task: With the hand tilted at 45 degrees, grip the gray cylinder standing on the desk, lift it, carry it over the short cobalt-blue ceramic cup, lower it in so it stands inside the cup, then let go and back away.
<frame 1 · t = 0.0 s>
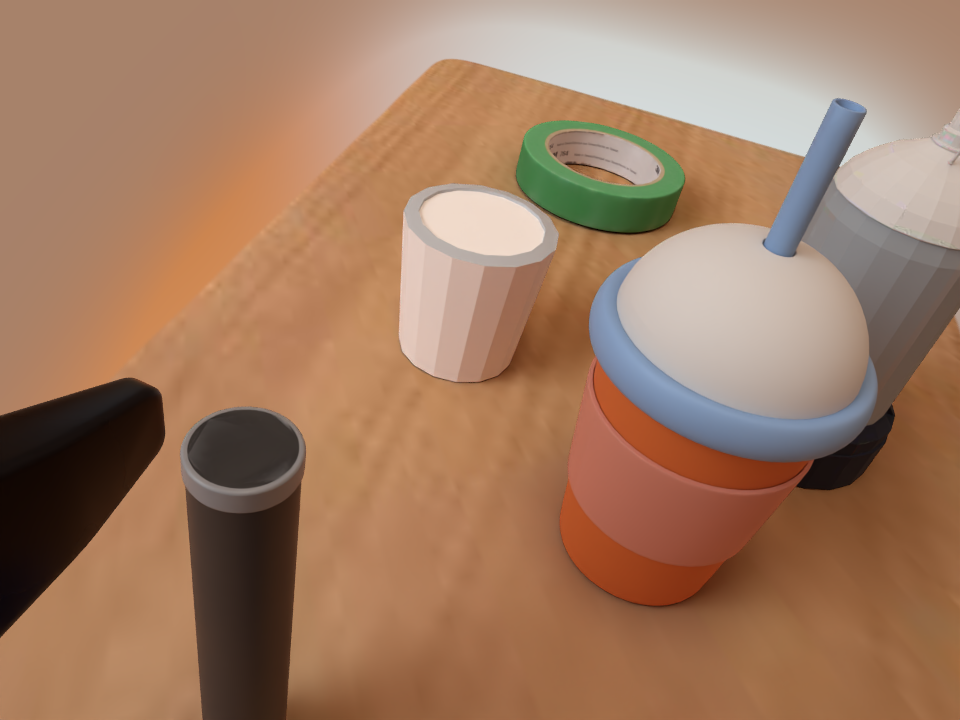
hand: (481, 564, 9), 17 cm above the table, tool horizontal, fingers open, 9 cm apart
tape roll: (593, 193, 55), on the table
cup with straw: (632, 543, 32), on the table
humidifier: (782, 427, 39), on the table
white tapered cup: (455, 347, 39), on the table
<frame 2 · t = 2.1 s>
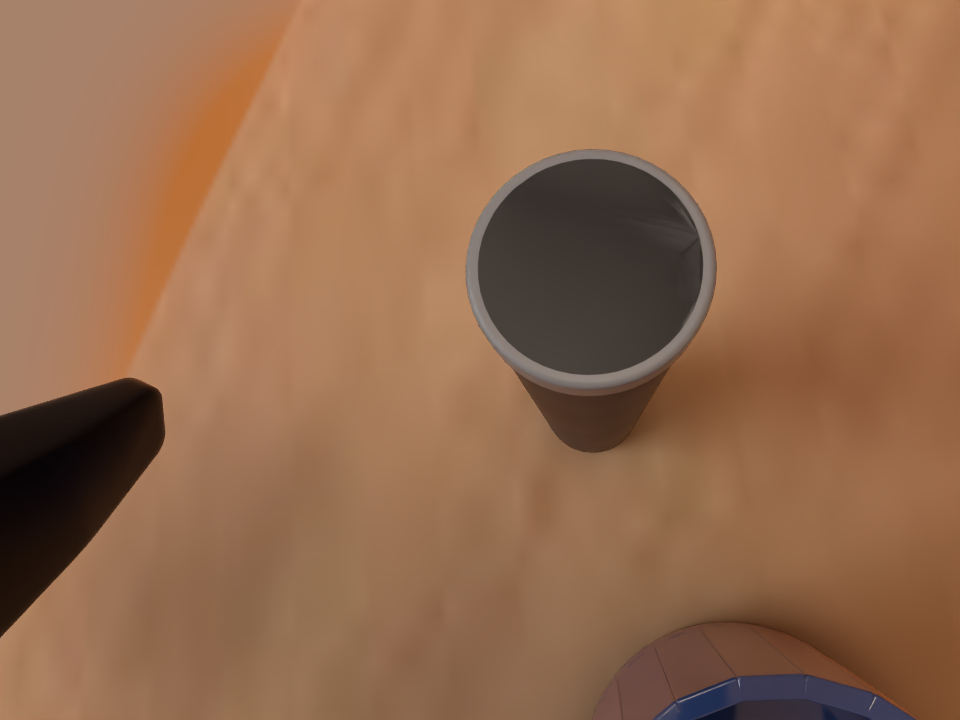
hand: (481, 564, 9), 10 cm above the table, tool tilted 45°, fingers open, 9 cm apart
gray cylinder: (591, 407, 19), on the table
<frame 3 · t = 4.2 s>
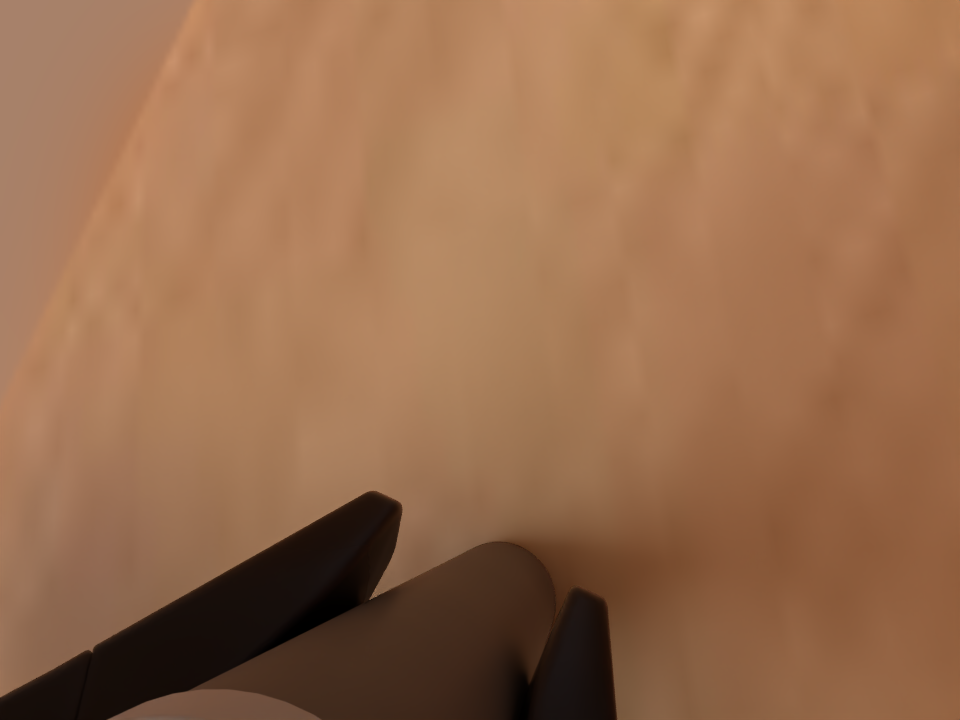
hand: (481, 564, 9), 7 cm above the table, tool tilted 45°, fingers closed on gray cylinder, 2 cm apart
gray cylinder: (499, 599, 16), on the table, touching gripper
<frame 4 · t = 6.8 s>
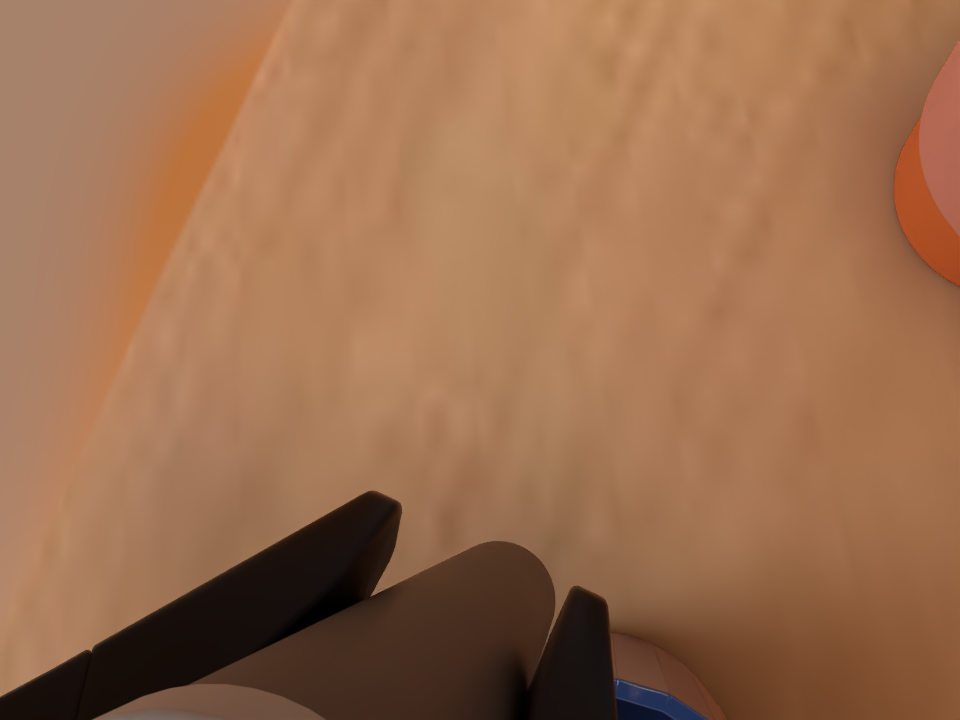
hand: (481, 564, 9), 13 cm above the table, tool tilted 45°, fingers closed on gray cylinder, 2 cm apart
gray cylinder: (498, 598, 16), point 7 cm above the table, touching gripper
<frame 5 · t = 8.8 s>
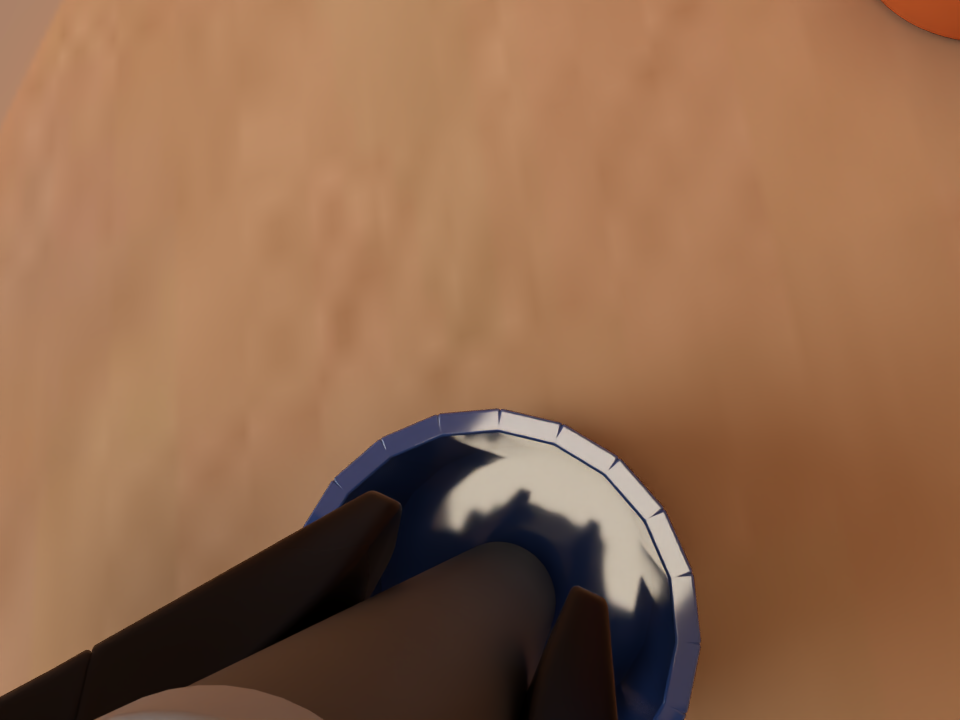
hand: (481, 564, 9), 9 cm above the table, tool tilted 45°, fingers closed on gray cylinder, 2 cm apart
gray cylinder: (499, 599, 16), point 3 cm above the table, touching gripper
blue cup: (516, 580, 18), on the table
when the fingers open (7 cm above the table, at t = 9.7 s): gray cylinder stays where it is, resting on blue cup.
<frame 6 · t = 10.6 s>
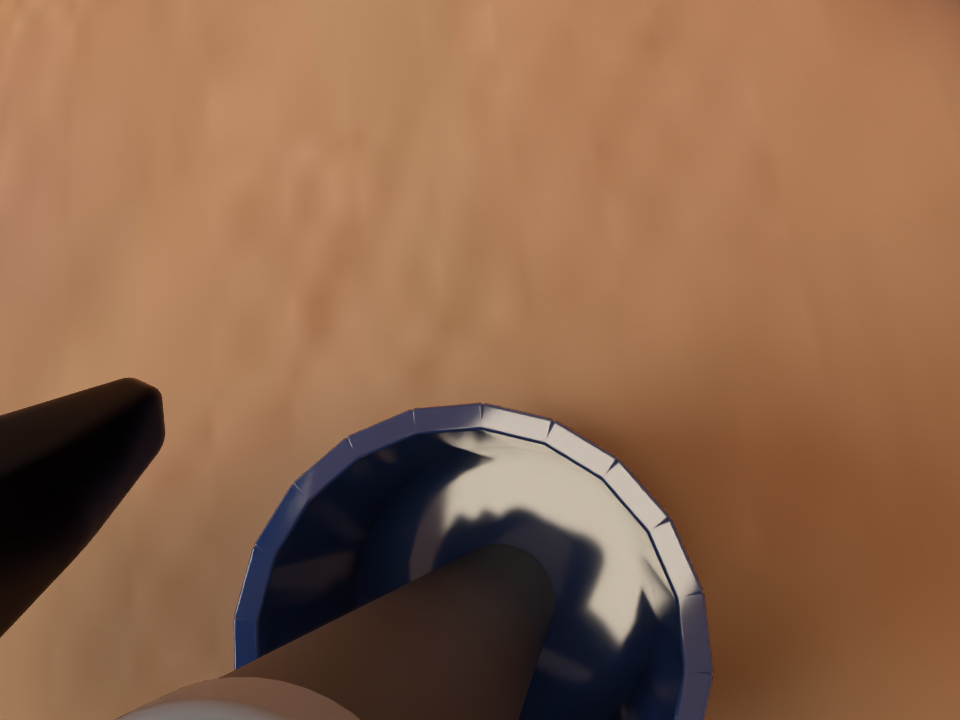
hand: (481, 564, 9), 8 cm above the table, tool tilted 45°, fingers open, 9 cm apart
gray cylinder: (499, 600, 16), point 1 cm above the table, touching blue cup
blue cup: (504, 594, 17), on the table
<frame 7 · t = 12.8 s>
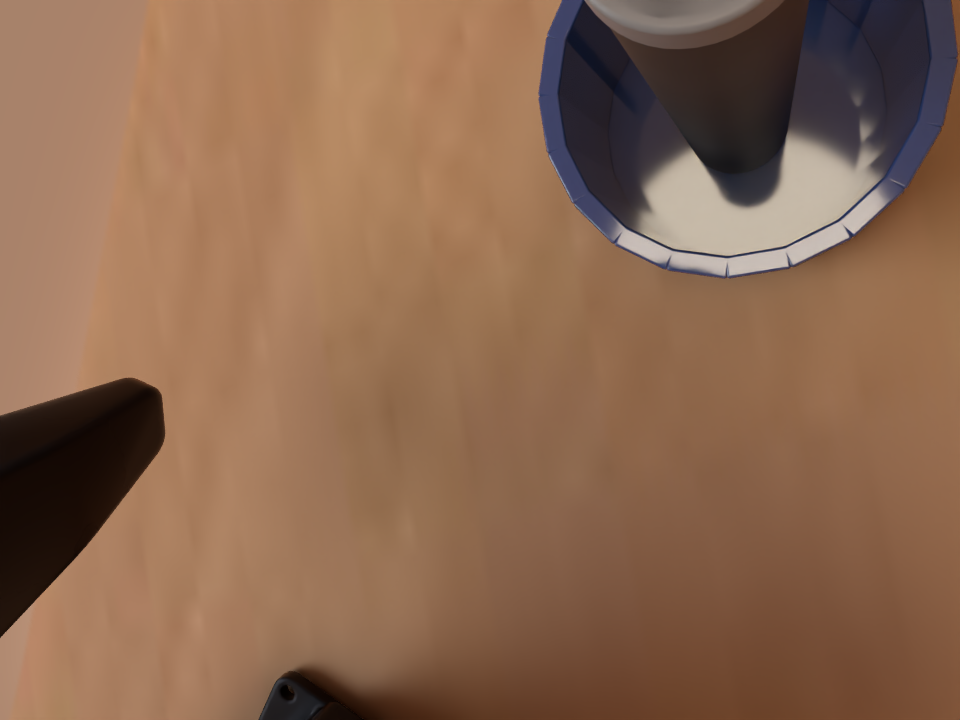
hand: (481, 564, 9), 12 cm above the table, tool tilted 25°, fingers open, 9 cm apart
gray cylinder: (737, 125, 18), point 1 cm above the table, touching blue cup
blue cup: (740, 127, 19), on the table
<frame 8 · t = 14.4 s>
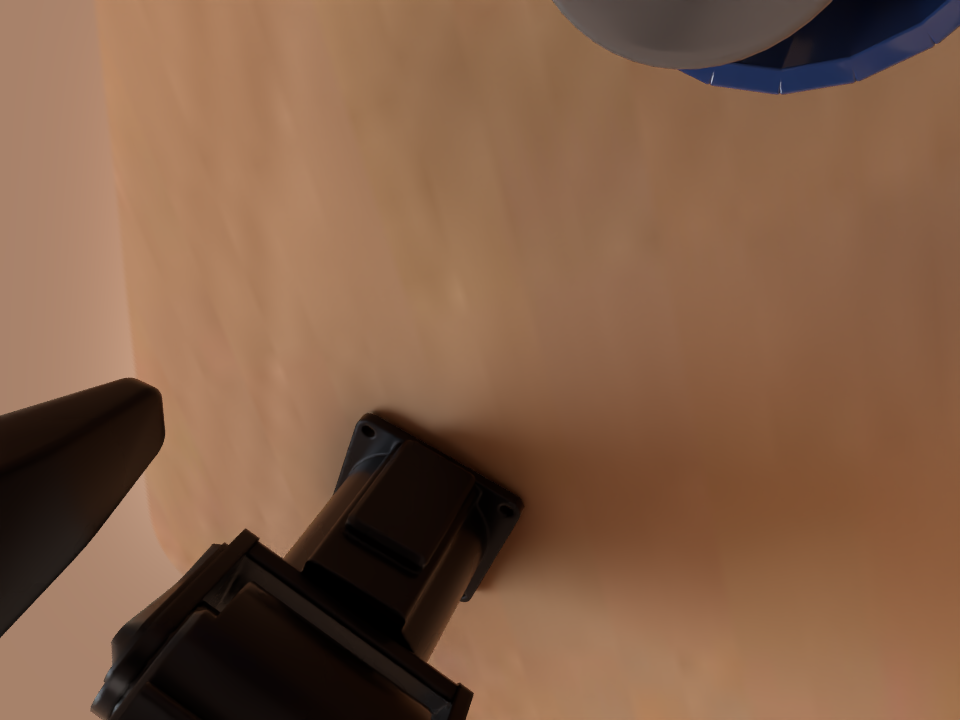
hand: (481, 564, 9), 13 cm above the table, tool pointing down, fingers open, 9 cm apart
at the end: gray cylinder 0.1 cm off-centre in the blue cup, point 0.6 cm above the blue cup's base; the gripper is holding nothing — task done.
